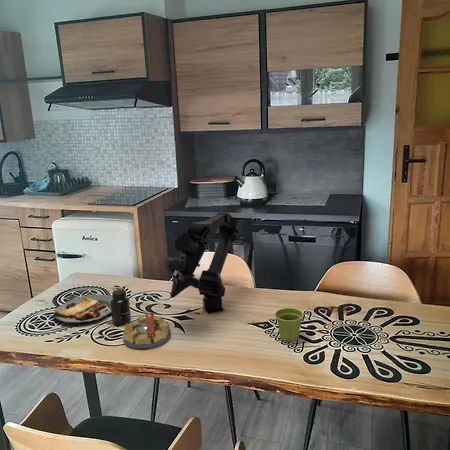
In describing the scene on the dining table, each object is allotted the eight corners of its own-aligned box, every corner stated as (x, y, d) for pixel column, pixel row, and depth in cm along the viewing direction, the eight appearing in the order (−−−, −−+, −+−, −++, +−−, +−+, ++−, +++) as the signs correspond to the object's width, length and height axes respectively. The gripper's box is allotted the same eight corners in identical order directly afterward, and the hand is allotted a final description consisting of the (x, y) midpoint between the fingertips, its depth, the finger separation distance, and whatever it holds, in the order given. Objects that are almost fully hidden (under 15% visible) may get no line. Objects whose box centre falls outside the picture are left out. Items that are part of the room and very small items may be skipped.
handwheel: (151, 318, 165) (149, 294, 163) (177, 331, 155) (175, 306, 153) (116, 334, 155) (113, 309, 153) (141, 349, 145) (138, 322, 142)
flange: (154, 321, 167) (153, 310, 165) (180, 336, 155) (179, 324, 154) (115, 338, 156) (113, 325, 155) (139, 355, 145) (138, 342, 144)
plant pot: (285, 348, 145) (285, 323, 142) (269, 335, 153) (269, 312, 151) (309, 340, 149) (309, 315, 147) (292, 328, 157) (292, 305, 155)
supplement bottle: (126, 326, 164) (123, 296, 161) (109, 325, 165) (105, 295, 162) (134, 318, 170) (130, 288, 167) (117, 317, 172) (113, 287, 169)
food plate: (84, 332, 161) (83, 322, 161) (40, 320, 173) (39, 311, 172) (131, 305, 182) (130, 297, 182) (89, 296, 194) (88, 289, 193)
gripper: (165, 242, 164) (144, 281, 163) (182, 253, 147) (159, 296, 146) (190, 255, 168) (170, 292, 168) (209, 267, 152) (188, 309, 151)
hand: (171, 297), depth 158 cm, fingers closed
